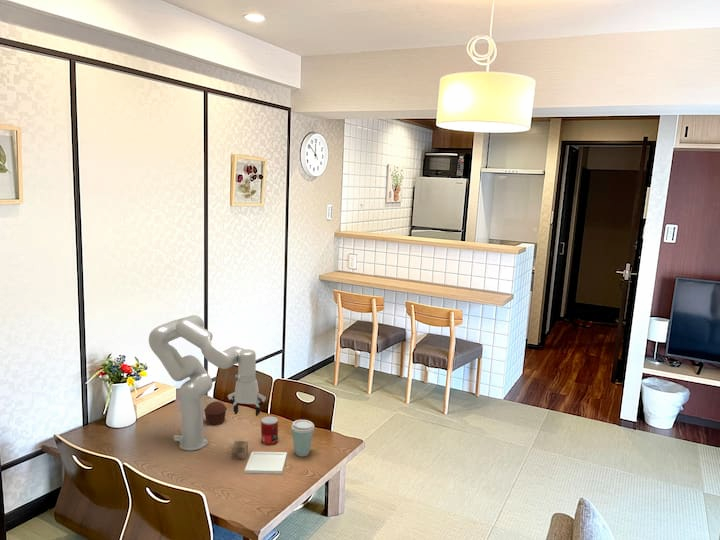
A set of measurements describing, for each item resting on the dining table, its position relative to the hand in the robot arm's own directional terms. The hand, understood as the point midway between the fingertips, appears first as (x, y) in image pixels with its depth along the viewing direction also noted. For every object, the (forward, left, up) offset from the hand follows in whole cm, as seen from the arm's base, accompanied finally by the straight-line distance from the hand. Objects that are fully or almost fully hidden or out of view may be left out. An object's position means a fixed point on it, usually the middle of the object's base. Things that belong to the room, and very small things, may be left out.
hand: (246, 413), depth 243 cm
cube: (-3, -2, -20) cm, 20 cm away
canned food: (+8, +13, -20) cm, 25 cm away
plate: (+10, -8, -20) cm, 23 cm away
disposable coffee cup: (+25, +2, -20) cm, 32 cm away
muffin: (-23, +33, -20) cm, 45 cm away
